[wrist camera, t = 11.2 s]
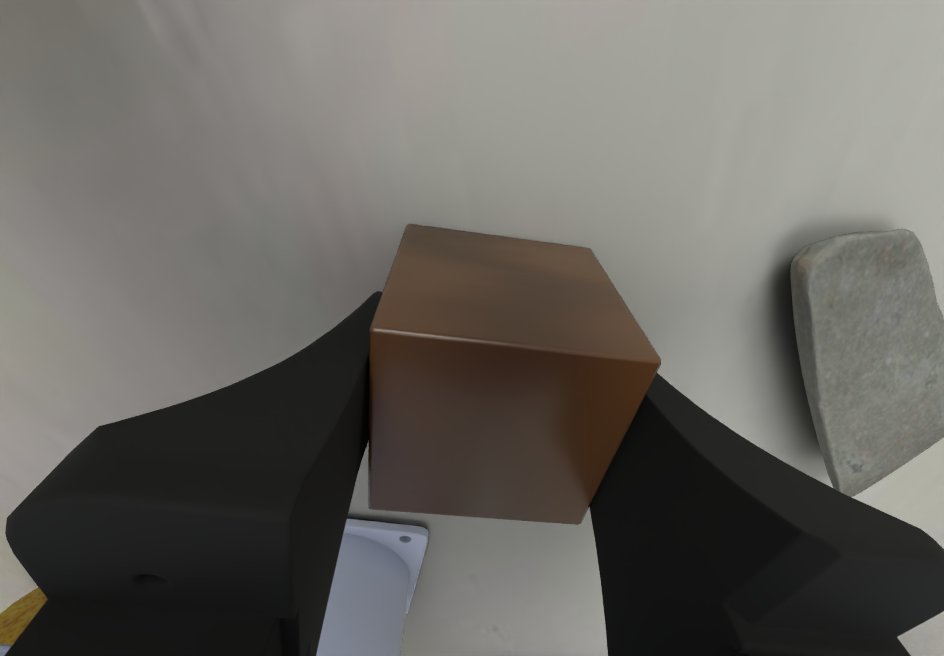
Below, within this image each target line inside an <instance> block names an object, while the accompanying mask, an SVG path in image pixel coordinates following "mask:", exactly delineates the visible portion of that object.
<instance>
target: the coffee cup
mask: <svg viewBox="0 0 944 656" xmlns="http://www.w3.org/2000/svg"><path fill="white" fill-rule="evenodd" d="M897 638H898V639H899V640H900V642H901V643H902V644H903V646H904V647H905V648H906V650H907V651H908V653H909V654H910V655H911V656H944V611H943V612H942V613H940V614H938V615H937V616H935V617H933V618H931V619H929V620H927V621H926V622H924V623H922V624H920V625H918V626H916V627H915V628H913V629H911V630H909V631H907V632H905V633H904V634H902V635H900V636H898V637H897Z"/></svg>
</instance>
